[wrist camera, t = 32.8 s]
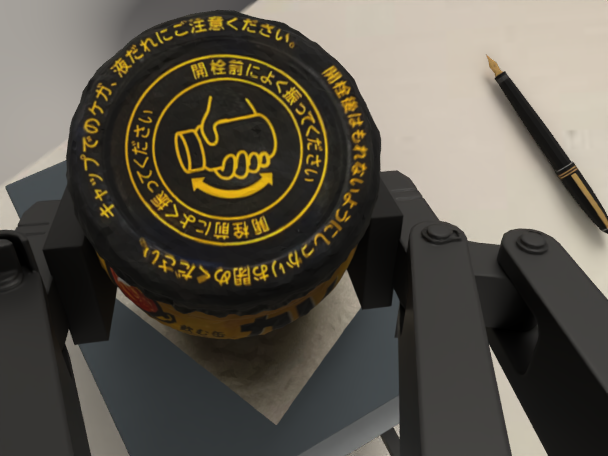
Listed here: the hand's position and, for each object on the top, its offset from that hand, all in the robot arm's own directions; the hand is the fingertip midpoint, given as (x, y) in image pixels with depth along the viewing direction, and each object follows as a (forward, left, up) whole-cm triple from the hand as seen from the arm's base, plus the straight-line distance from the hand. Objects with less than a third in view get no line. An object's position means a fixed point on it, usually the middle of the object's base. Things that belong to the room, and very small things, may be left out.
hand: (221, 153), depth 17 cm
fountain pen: (+19, -11, -15) cm, 26 cm away
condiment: (-2, -3, -4) cm, 5 cm away
